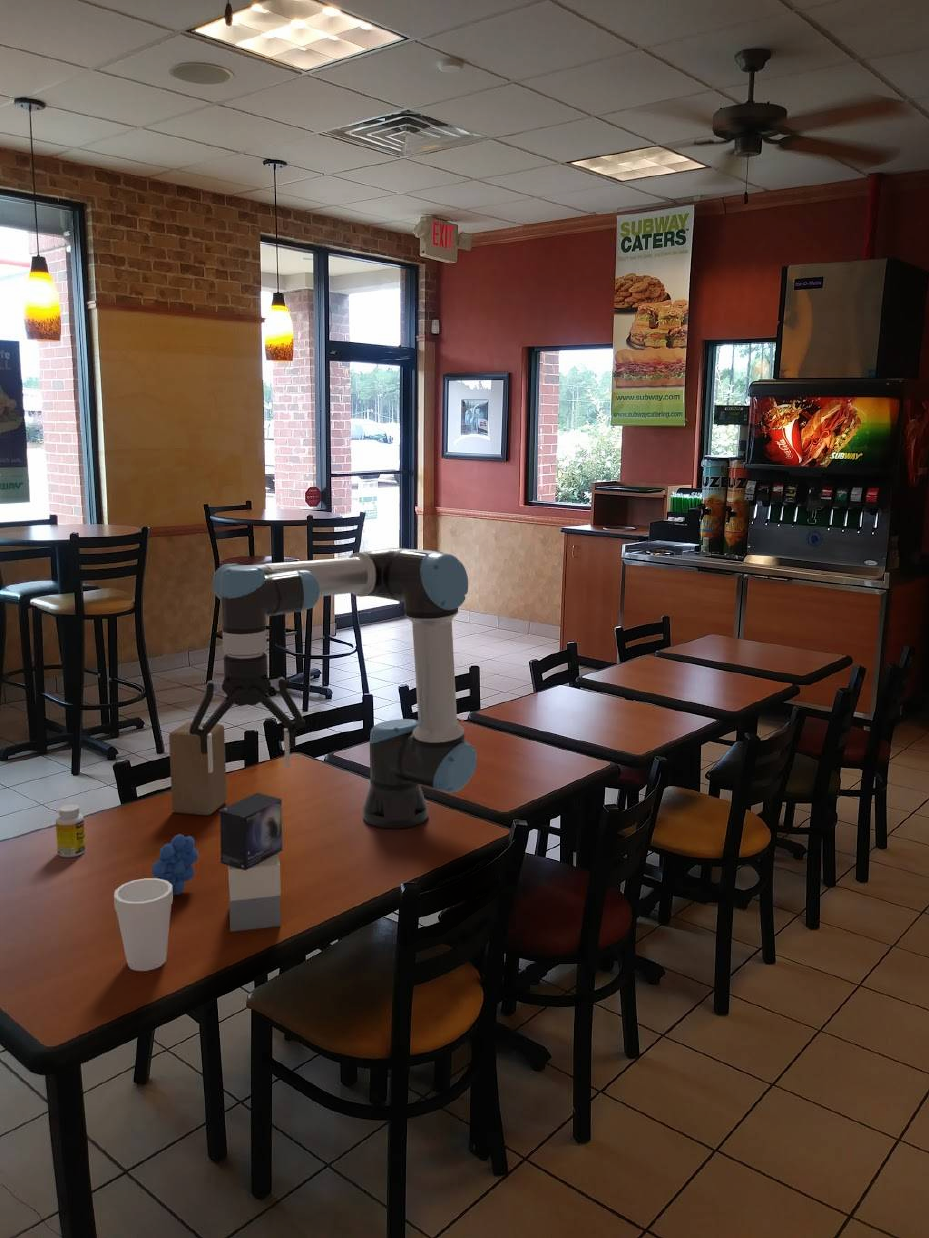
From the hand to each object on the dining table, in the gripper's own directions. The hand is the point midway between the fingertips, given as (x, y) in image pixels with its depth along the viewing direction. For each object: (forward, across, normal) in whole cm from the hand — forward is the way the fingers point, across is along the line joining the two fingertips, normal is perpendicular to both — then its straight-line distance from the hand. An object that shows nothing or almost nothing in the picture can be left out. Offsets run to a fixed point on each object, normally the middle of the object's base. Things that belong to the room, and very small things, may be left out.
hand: (249, 767), depth 179 cm
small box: (+18, 0, 0) cm, 18 cm away
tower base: (+29, 0, 0) cm, 30 cm away
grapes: (+29, +15, -13) cm, 36 cm away
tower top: (+24, 0, 0) cm, 24 cm away
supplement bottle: (+29, +37, -37) cm, 60 cm away
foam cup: (+29, +18, +12) cm, 37 cm away
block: (+30, +11, -58) cm, 66 cm away
